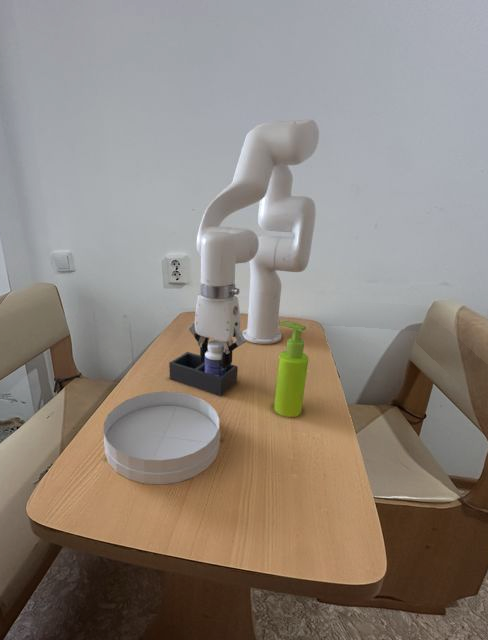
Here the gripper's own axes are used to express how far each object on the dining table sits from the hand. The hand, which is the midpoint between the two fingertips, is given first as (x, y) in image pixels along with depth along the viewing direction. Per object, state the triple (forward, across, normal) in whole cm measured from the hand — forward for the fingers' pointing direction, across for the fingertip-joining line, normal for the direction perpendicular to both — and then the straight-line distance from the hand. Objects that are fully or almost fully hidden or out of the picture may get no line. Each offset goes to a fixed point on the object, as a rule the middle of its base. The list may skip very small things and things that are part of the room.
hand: (215, 362), depth 90 cm
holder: (+6, +4, 0) cm, 7 cm away
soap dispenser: (+6, -19, +1) cm, 20 cm away
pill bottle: (+4, 0, 0) cm, 4 cm away
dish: (+6, -3, +25) cm, 26 cm away
